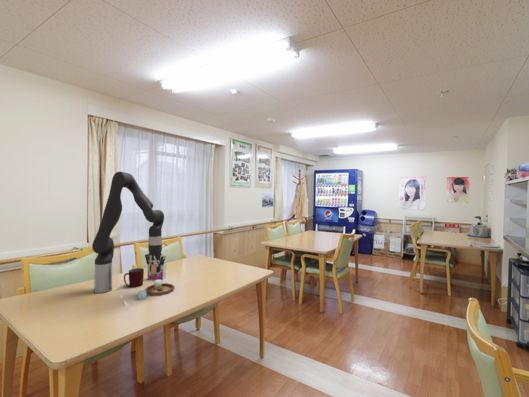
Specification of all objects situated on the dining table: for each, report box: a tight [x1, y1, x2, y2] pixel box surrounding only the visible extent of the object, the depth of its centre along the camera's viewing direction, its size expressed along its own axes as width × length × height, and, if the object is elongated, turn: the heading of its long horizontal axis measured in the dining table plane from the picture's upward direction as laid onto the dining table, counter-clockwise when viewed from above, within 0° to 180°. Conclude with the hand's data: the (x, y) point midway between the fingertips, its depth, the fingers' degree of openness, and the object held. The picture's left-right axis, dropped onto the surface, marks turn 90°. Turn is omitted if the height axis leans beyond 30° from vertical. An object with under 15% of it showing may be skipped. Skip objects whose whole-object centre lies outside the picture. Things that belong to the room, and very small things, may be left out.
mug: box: [123, 267, 145, 289], centre depth 170 cm, size 12×9×11 cm
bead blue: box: [137, 289, 147, 301], centre depth 151 cm, size 4×4×5 cm
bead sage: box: [153, 279, 163, 290], centre depth 166 cm, size 4×4×5 cm
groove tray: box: [144, 282, 175, 297], centre depth 163 cm, size 16×16×3 cm
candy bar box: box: [147, 256, 167, 281], centre depth 185 cm, size 11×5×16 cm, turn 84°
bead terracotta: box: [151, 263, 159, 274], centre depth 159 cm, size 4×4×5 cm
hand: (155, 271), depth 159 cm, fingers closed on bead terracotta, 4 cm apart
